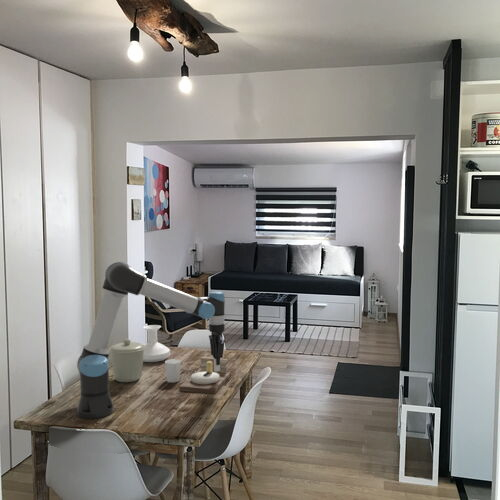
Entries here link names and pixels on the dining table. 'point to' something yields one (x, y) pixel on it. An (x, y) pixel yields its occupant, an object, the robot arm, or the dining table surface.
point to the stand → (207, 388)
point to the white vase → (154, 346)
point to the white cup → (173, 370)
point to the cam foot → (205, 376)
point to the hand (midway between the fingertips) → (216, 370)
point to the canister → (127, 360)
